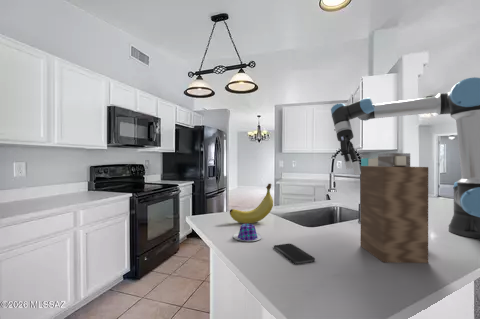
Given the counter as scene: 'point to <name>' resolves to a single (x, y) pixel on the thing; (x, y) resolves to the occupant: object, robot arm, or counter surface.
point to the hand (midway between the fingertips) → (354, 171)
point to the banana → (257, 212)
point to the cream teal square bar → (374, 161)
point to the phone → (294, 254)
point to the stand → (395, 210)
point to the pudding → (247, 233)
